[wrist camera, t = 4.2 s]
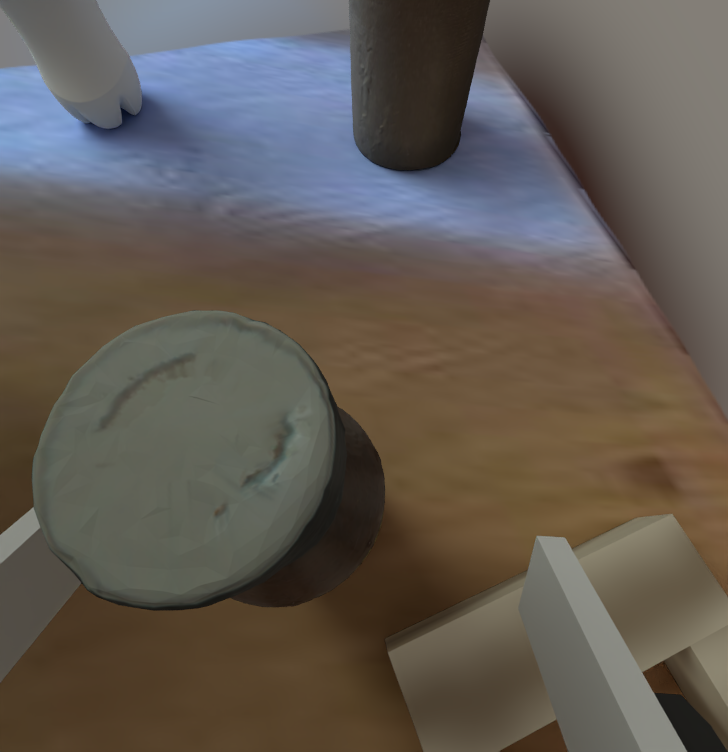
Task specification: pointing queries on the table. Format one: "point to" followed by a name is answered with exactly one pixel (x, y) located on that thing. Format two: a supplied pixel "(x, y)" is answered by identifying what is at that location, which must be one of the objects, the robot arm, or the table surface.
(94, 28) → the water bottle
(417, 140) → the pillar candle
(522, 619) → the robot arm
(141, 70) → the table surface
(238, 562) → the sauce bottle
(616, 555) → the birch stand
